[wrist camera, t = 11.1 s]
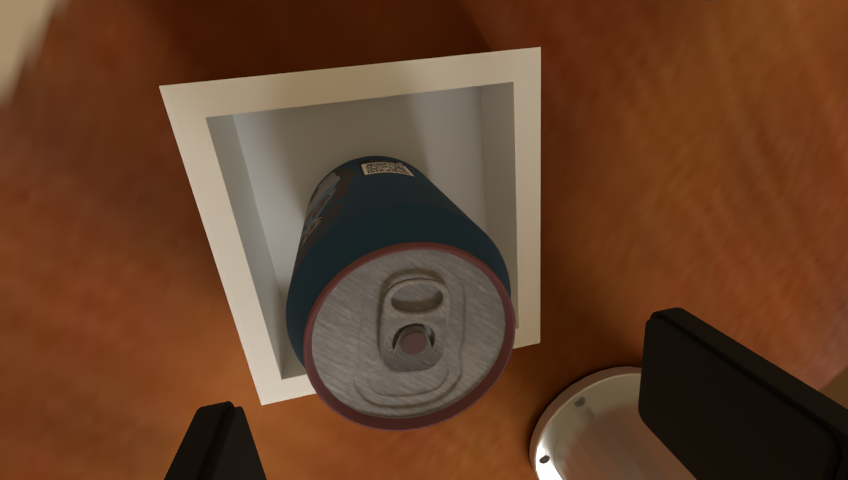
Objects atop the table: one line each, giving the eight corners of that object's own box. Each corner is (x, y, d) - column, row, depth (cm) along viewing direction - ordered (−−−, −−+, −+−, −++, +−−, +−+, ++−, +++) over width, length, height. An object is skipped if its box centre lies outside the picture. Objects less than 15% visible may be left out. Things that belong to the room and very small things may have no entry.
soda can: (431, 275, 24) (515, 436, 13) (308, 276, 22) (281, 461, 11) (442, 155, 21) (559, 224, 10) (306, 147, 20) (271, 218, 9)
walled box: (495, 56, 21) (540, 46, 16) (504, 298, 26) (540, 342, 22) (202, 87, 19) (158, 85, 14) (275, 345, 24) (261, 405, 19)
